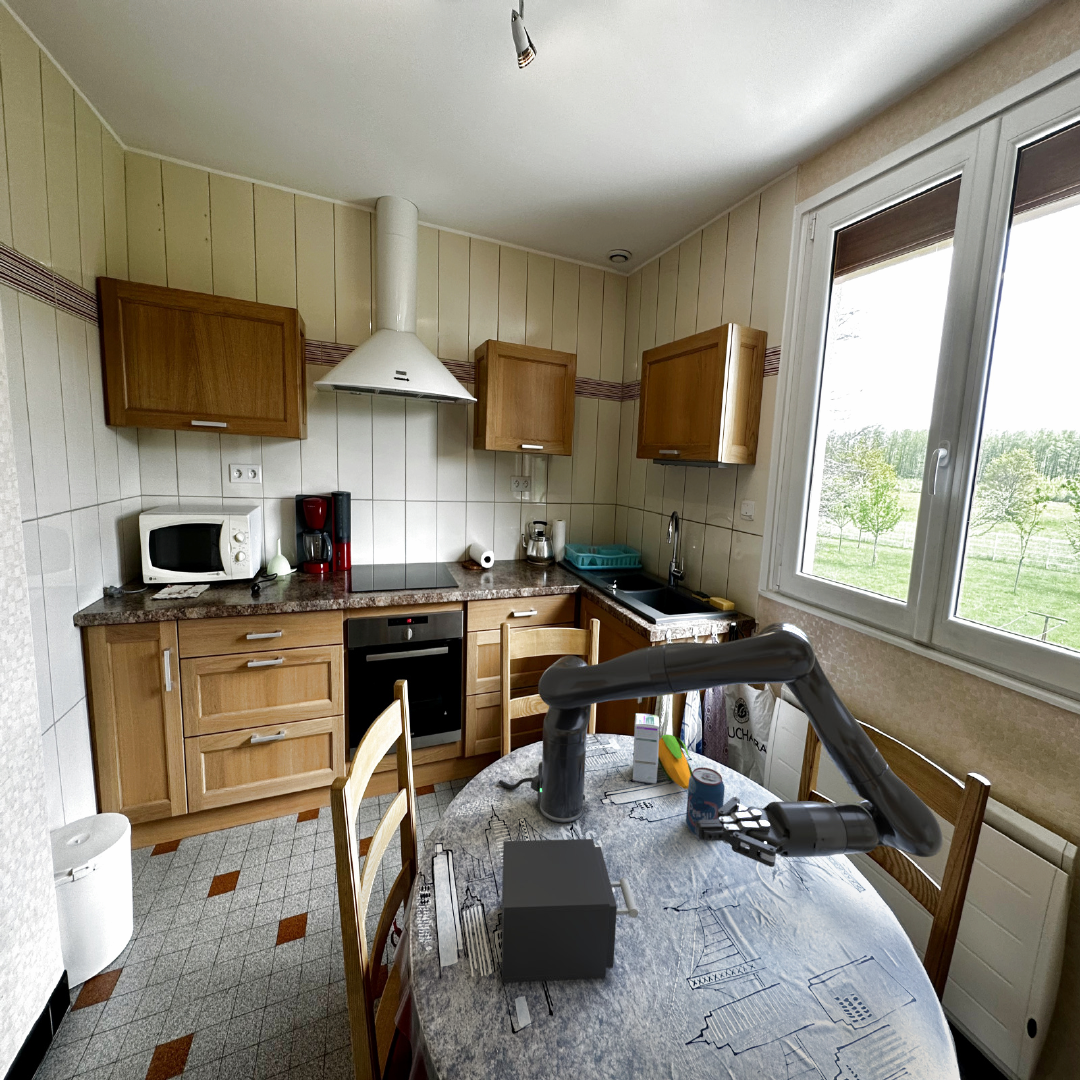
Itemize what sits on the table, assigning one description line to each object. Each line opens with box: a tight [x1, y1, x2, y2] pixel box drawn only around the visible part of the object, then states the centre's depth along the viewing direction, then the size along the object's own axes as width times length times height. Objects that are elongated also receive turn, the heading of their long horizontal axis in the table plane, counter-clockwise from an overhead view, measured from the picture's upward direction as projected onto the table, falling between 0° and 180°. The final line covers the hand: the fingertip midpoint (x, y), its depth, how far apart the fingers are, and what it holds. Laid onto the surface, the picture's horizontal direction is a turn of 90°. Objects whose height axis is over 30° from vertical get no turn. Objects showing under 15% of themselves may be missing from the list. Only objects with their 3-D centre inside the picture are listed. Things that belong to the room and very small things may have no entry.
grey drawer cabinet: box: [501, 838, 610, 984], centre depth 77 cm, size 15×13×12 cm
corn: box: [658, 733, 693, 790], centre depth 122 cm, size 7×8×20 cm
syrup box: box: [632, 712, 660, 785], centre depth 121 cm, size 6×6×14 cm
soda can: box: [685, 766, 726, 838], centre depth 103 cm, size 7×7×12 cm
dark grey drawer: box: [595, 846, 639, 969], centre depth 77 cm, size 18×12×10 cm, turn 94°
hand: (697, 830), depth 77 cm, fingers closed
